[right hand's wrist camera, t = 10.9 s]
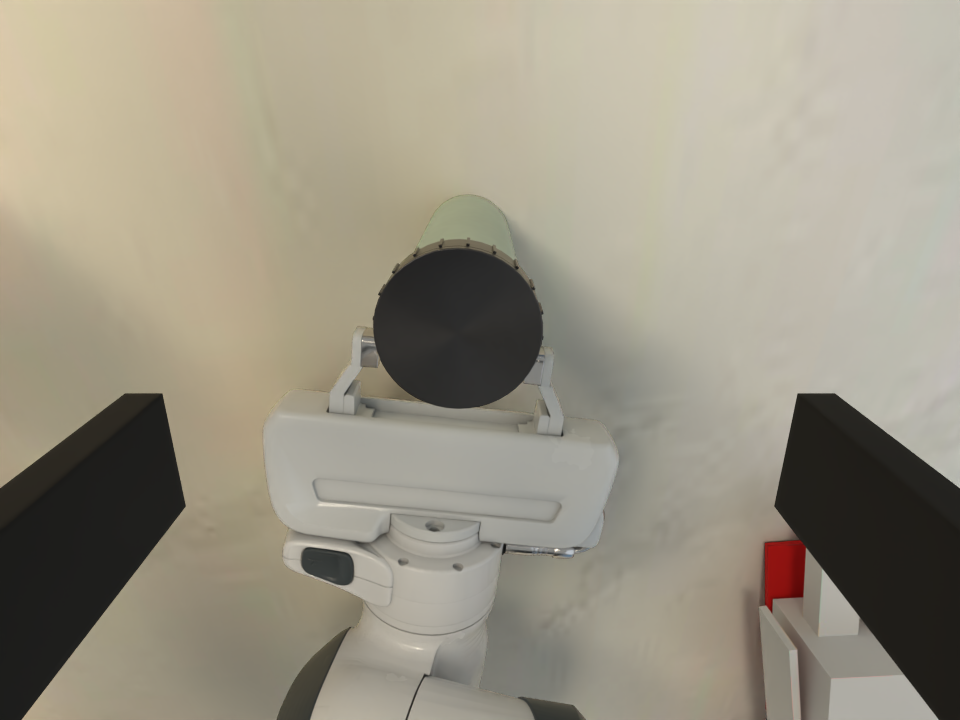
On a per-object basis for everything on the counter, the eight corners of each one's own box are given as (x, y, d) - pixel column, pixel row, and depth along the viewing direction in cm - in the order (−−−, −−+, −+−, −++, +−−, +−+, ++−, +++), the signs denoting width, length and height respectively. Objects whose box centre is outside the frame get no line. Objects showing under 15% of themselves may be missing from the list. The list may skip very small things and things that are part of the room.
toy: (1026, 569, 35) (968, 956, 42) (881, 472, 48) (855, 780, 55) (812, 581, 35) (790, 962, 42) (726, 482, 48) (720, 786, 55)
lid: (399, 217, 21) (392, 224, 19) (561, 263, 21) (568, 274, 20) (364, 369, 23) (355, 387, 21) (512, 407, 23) (515, 428, 22)
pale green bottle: (439, 184, 37) (404, 237, 20) (519, 208, 37) (551, 279, 20) (419, 264, 38) (371, 375, 22) (496, 285, 39) (507, 410, 22)
